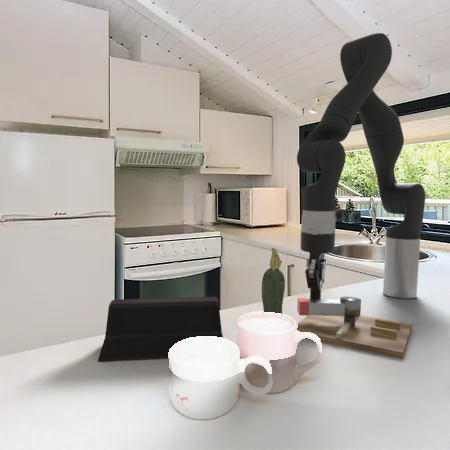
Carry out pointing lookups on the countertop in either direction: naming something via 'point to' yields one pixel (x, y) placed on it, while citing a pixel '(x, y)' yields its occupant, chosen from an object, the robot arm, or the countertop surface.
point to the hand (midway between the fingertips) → (315, 304)
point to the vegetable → (273, 285)
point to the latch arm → (330, 307)
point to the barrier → (156, 326)
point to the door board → (360, 333)
